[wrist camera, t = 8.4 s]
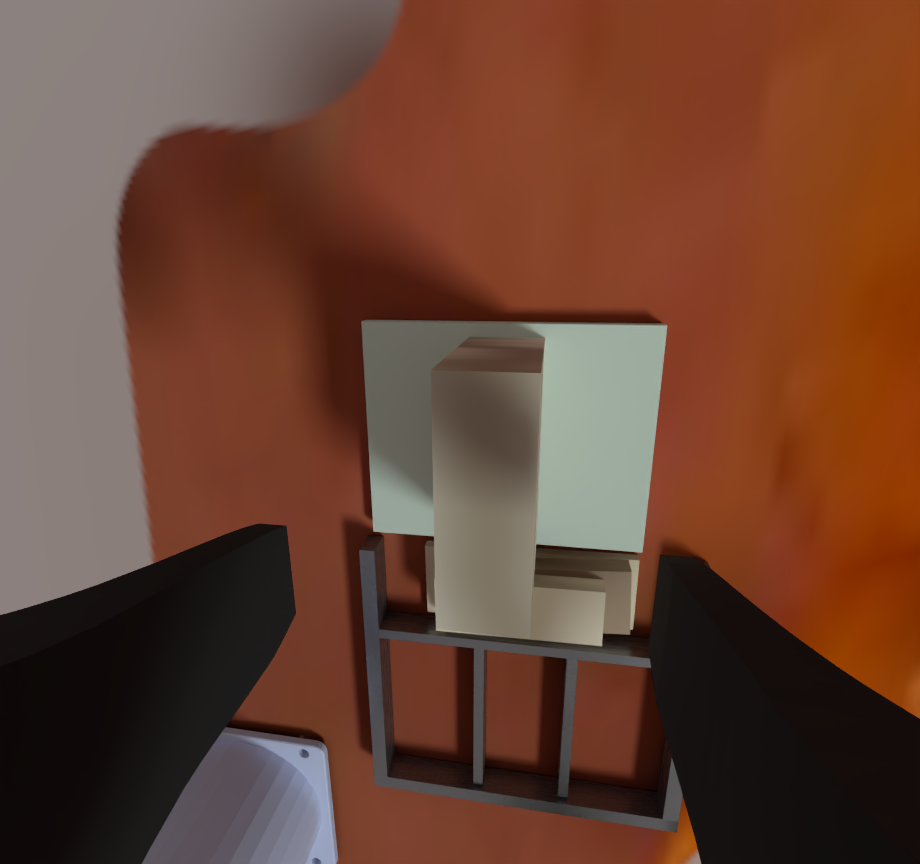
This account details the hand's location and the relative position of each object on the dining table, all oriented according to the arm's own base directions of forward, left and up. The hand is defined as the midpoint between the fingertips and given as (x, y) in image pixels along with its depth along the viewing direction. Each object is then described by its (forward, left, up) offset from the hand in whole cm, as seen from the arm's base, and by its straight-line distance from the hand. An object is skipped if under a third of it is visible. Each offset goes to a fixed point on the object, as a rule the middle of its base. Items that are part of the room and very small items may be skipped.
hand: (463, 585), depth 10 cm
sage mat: (0, 0, -10) cm, 10 cm away
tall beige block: (0, 0, -9) cm, 9 cm away
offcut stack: (+1, -6, -10) cm, 12 cm away
